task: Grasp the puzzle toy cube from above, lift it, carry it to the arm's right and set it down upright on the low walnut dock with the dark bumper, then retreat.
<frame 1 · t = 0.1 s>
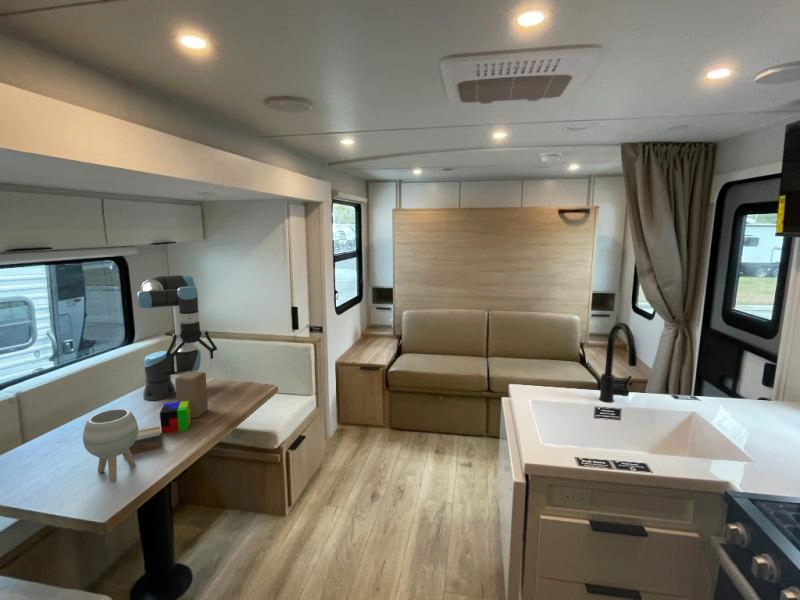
hand: (193, 368, 177), 28 cm above the table, fingers open, 13 cm apart
dock: (142, 443, 166), on the table
wooden block: (193, 414, 194), on the table
planter: (115, 473, 146), on the table
puzzle toy: (176, 427, 181), on the table
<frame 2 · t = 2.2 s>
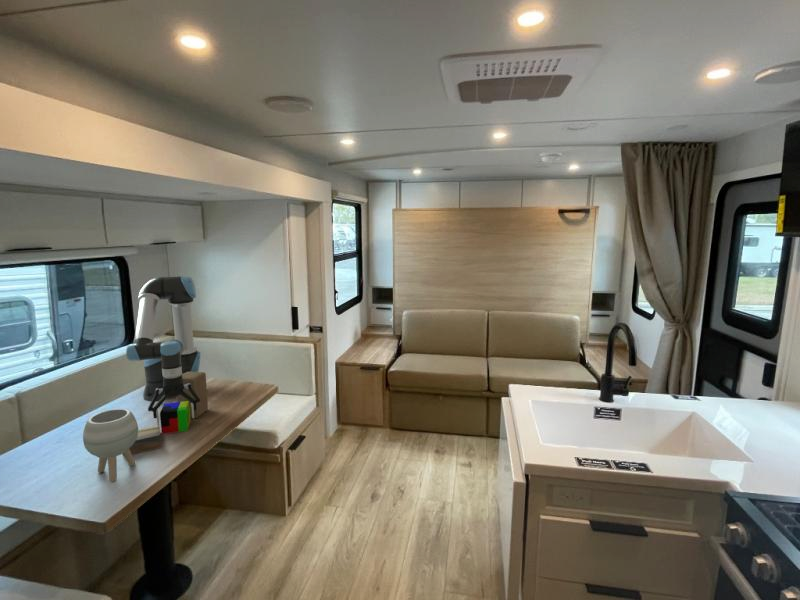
hand: (176, 420, 180), 3 cm above the table, fingers open, 13 cm apart
nothing on the table moved.
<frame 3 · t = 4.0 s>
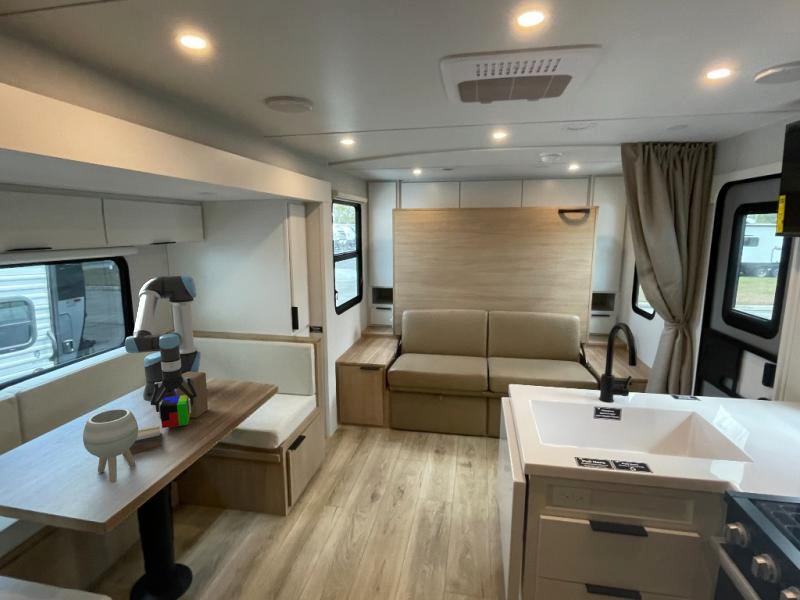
hand: (175, 414, 180), 6 cm above the table, fingers closed on puzzle toy, 11 cm apart
puzzle toy: (176, 421, 181), point 2 cm above the table, touching gripper
everything else where it was.
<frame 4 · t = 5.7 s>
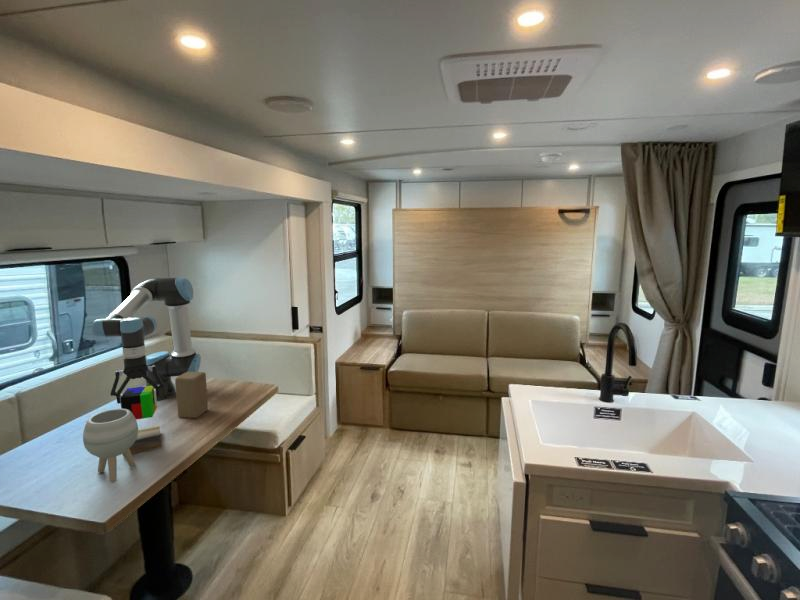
hand: (139, 407, 164), 16 cm above the table, fingers closed on puzzle toy, 11 cm apart
puzzle toy: (141, 414, 165), point 13 cm above the table, touching gripper
everything else where it was.
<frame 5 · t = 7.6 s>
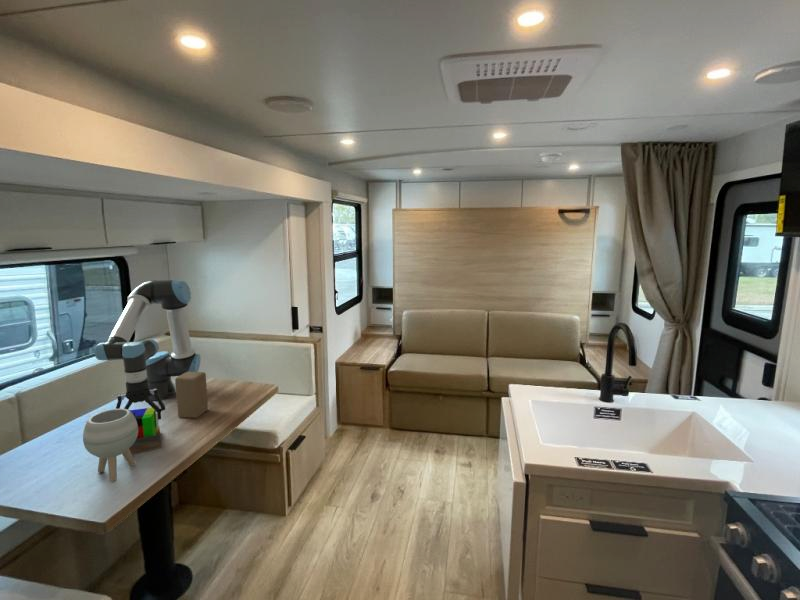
hand: (141, 430, 166), 6 cm above the table, fingers closed on puzzle toy, 11 cm apart
puzzle toy: (142, 436, 166), point 3 cm above the table, touching dock, gripper
everything else where it was.
when the fingers open (6 cm above the table, at t = 8.2 s): puzzle toy stays where it is, resting on dock.
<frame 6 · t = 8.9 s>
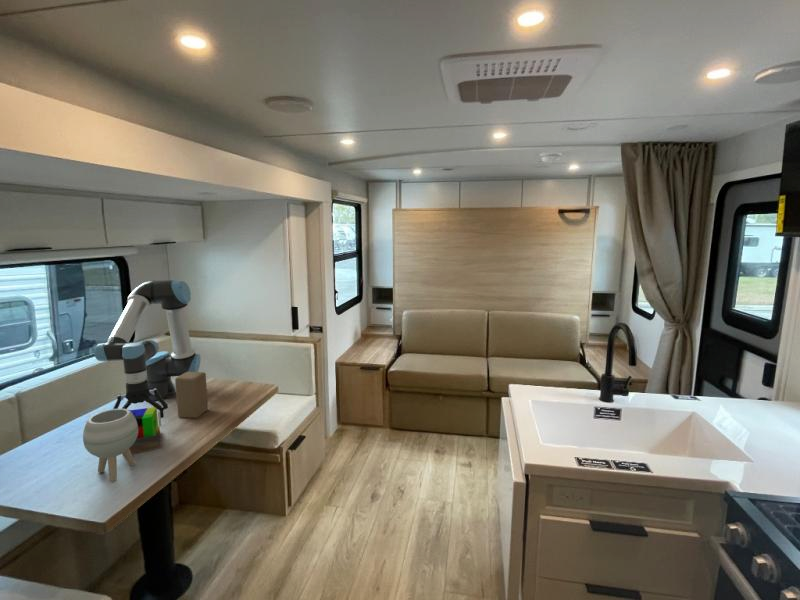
hand: (141, 429, 166), 6 cm above the table, fingers open, 13 cm apart
puzzle toy: (142, 436, 166), point 3 cm above the table, touching dock
everything else where it was.
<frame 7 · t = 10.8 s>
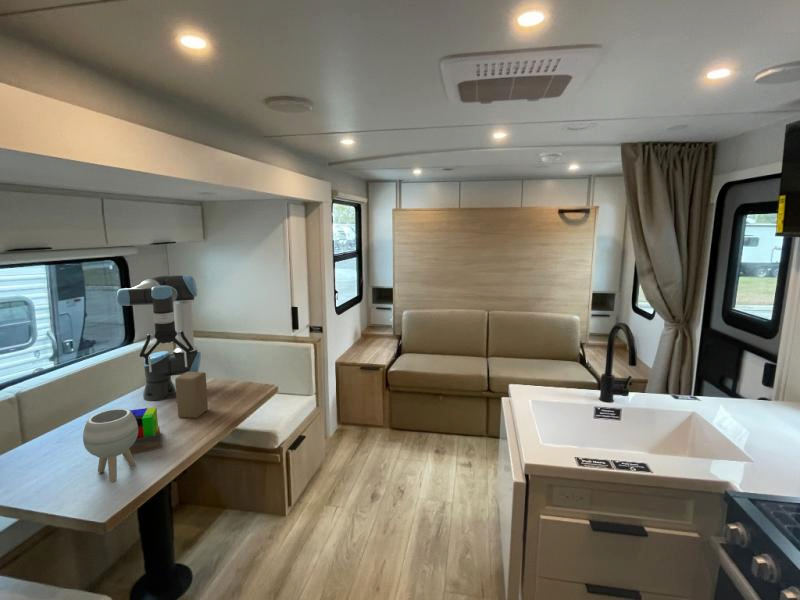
hand: (168, 368, 174), 28 cm above the table, fingers open, 13 cm apart
nothing on the table moved.
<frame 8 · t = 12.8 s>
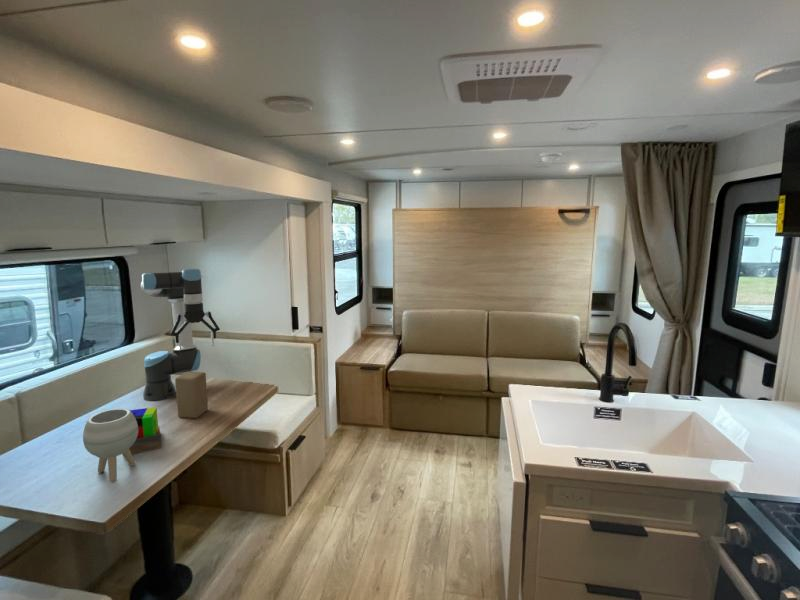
hand: (196, 347, 185), 35 cm above the table, fingers open, 13 cm apart
nothing on the table moved.
at the end: puzzle toy inside the target area on the dock (0.6 cm from its centre), point 2.9 cm above the dock's base; puzzle toy touching dock; puzzle toy tilted 1° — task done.
